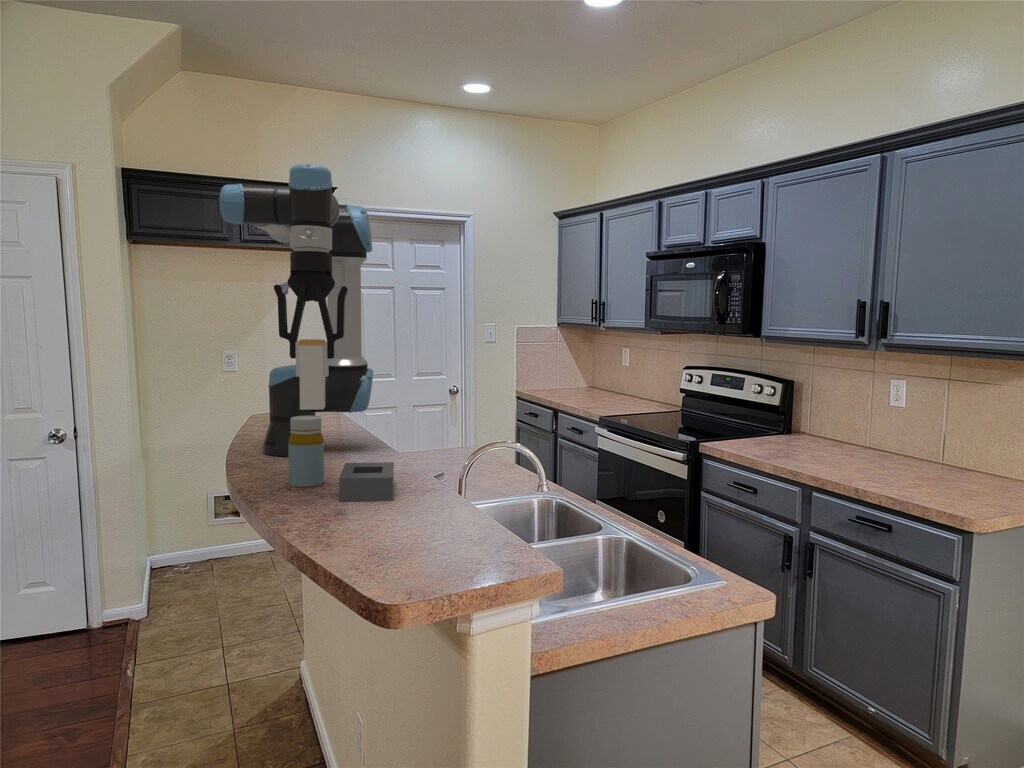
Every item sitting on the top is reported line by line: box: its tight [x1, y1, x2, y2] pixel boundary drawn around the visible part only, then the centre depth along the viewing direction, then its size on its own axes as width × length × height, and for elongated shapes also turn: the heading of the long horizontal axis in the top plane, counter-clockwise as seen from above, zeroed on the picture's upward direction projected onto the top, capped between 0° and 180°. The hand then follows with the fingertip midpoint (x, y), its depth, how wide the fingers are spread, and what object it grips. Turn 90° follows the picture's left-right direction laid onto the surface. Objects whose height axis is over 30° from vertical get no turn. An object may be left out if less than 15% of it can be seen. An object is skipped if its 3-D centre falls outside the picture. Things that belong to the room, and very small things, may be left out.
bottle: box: [288, 415, 325, 489], centre depth 140 cm, size 7×7×15 cm
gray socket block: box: [338, 461, 395, 503], centre depth 135 cm, size 14×10×6 cm
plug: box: [298, 338, 326, 410], centre depth 128 cm, size 4×4×13 cm
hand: (312, 375), depth 128 cm, fingers closed on plug, 4 cm apart
